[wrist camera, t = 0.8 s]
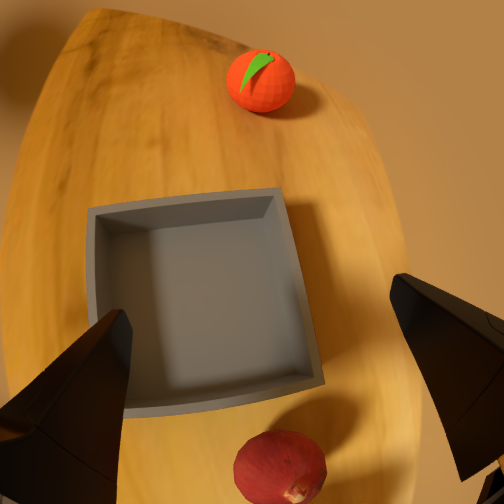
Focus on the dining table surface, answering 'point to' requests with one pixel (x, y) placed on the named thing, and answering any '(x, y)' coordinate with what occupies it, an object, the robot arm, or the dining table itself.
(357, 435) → the dining table surface
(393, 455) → the dining table surface
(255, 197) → the bin
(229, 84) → the clementine
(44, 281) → the dining table surface
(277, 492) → the onion
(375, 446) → the dining table surface
